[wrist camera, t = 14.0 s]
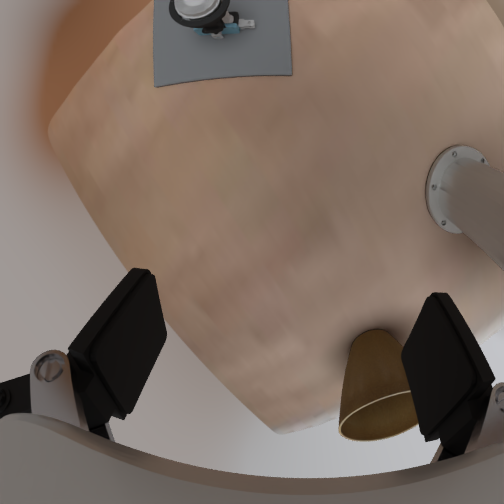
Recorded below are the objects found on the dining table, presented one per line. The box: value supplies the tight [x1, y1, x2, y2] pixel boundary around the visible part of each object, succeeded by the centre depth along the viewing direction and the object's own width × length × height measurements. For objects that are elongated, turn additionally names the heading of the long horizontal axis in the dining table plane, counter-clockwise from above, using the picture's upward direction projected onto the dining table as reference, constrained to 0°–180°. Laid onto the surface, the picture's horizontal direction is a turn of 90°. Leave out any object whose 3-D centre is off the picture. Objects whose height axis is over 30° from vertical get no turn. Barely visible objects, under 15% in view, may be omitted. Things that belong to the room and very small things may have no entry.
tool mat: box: [153, 0, 292, 87], centre depth 24 cm, size 16×13×1 cm
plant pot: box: [339, 330, 418, 441], centre depth 37 cm, size 15×15×16 cm
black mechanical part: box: [169, 0, 255, 39], centre depth 19 cm, size 7×5×10 cm
